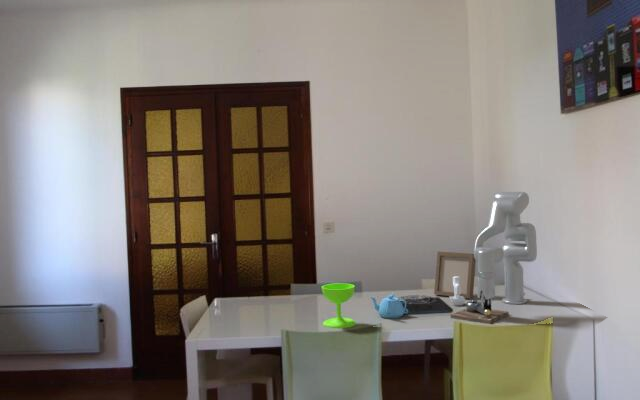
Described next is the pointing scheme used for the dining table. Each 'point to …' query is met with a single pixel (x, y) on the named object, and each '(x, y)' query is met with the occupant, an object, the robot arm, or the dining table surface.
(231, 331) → the dining table surface
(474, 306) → the grey metal elongated piece
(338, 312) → the wineglass
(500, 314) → the stand board
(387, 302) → the teapot
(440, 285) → the photo frame
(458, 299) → the figurine
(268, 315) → the dining table surface
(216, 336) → the dining table surface
